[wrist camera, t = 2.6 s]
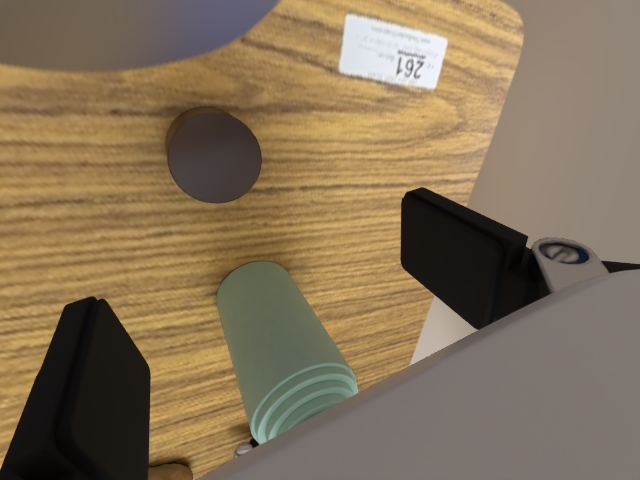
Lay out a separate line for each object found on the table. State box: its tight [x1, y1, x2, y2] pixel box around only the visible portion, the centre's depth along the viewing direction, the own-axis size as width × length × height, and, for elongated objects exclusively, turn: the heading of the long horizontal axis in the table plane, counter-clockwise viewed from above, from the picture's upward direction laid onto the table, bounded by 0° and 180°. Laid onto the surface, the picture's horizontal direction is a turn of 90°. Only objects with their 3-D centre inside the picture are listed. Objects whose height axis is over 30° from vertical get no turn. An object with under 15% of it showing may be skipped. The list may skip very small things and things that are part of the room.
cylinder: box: [166, 106, 262, 203], centre depth 19 cm, size 5×5×3 cm
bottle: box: [216, 261, 358, 445], centre depth 20 cm, size 6×6×16 cm
